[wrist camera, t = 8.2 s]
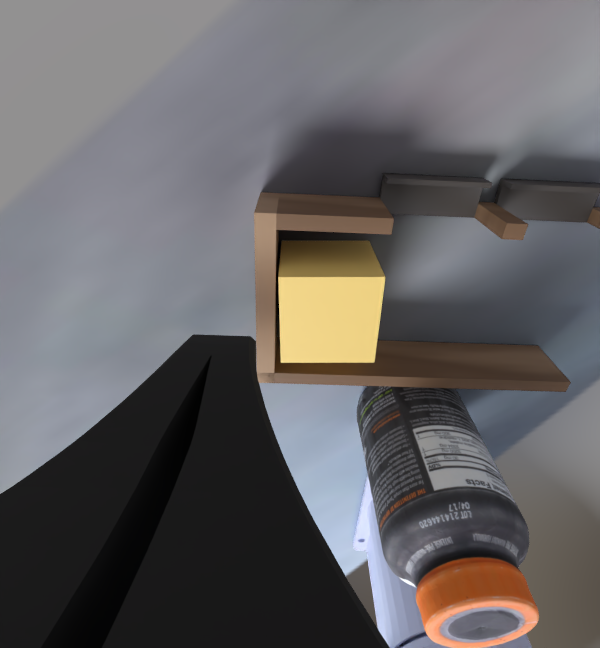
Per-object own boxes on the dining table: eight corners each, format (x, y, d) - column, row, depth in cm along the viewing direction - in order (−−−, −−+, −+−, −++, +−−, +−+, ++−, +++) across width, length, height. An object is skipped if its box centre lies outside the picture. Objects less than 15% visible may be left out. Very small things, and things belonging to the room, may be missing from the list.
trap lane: (533, 354, 21) (565, 392, 19) (262, 345, 21) (257, 382, 18) (609, 183, 17) (666, 202, 14) (260, 167, 16) (253, 184, 14)
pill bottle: (384, 451, 26) (437, 675, 16) (336, 394, 23) (365, 623, 13) (472, 412, 24) (591, 639, 14) (431, 346, 21) (543, 570, 12)
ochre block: (361, 314, 20) (374, 362, 17) (283, 315, 20) (280, 362, 17) (368, 239, 18) (385, 277, 15) (281, 239, 18) (278, 277, 15)
